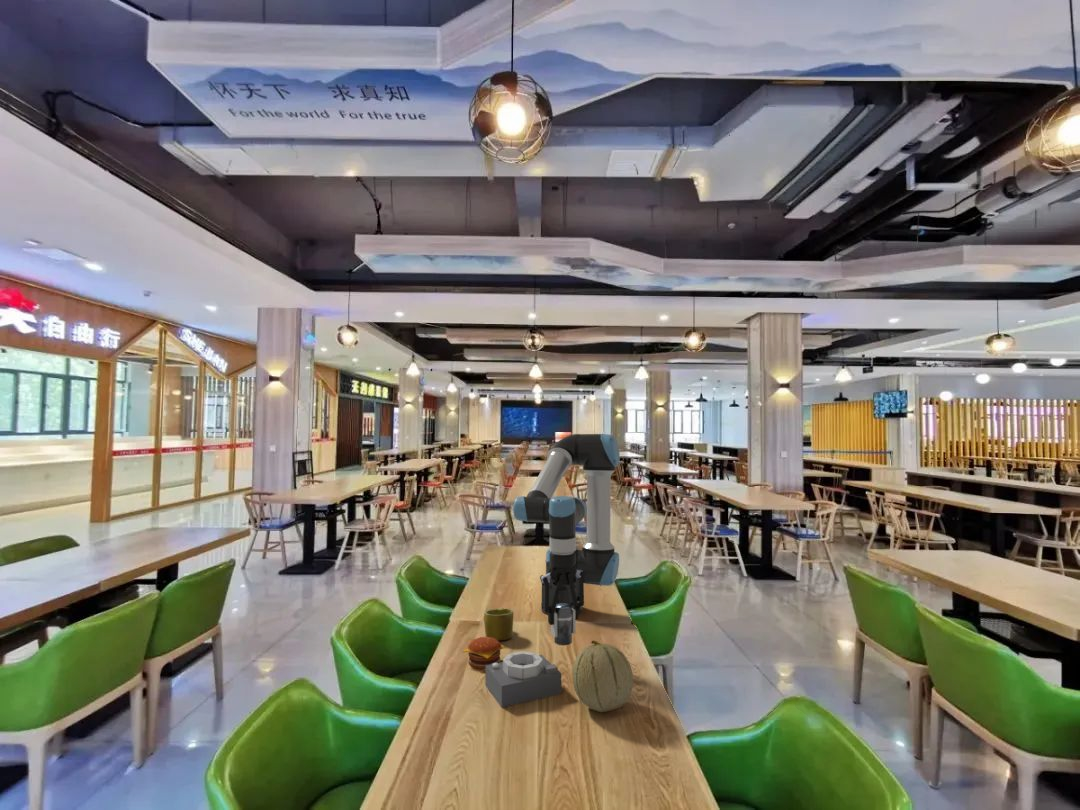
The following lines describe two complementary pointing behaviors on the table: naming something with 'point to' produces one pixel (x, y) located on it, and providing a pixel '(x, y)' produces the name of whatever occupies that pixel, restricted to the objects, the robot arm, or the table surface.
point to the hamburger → (484, 652)
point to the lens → (564, 624)
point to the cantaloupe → (602, 677)
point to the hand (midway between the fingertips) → (563, 633)
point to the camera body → (522, 678)
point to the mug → (499, 623)
